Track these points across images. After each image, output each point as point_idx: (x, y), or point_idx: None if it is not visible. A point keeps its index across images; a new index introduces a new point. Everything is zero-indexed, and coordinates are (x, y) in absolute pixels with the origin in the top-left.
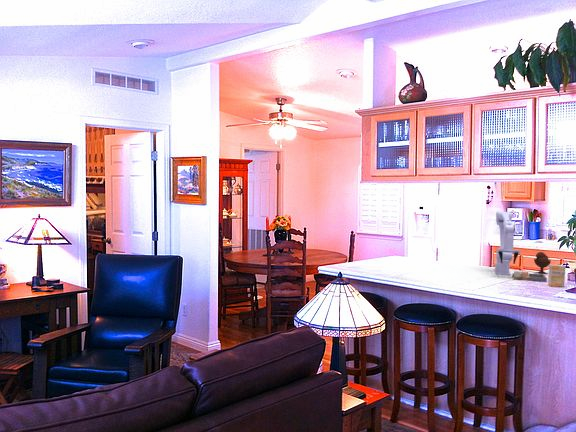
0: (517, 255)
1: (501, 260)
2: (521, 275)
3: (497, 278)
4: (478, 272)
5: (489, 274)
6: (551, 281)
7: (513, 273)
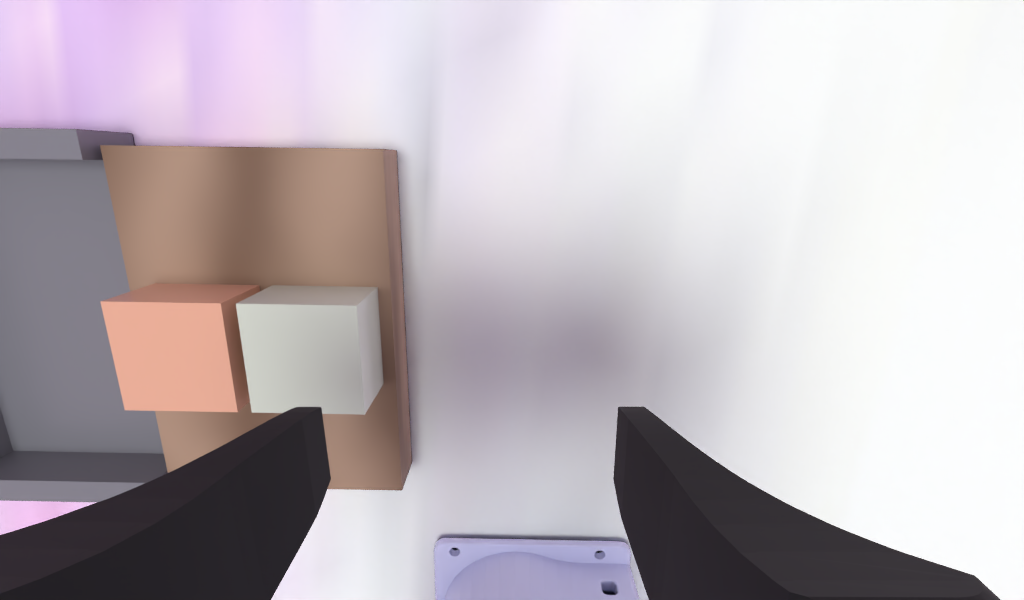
0: None
1: (672, 433)
2: None
3: (654, 168)
4: None
5: None
6: None
7: (386, 478)
